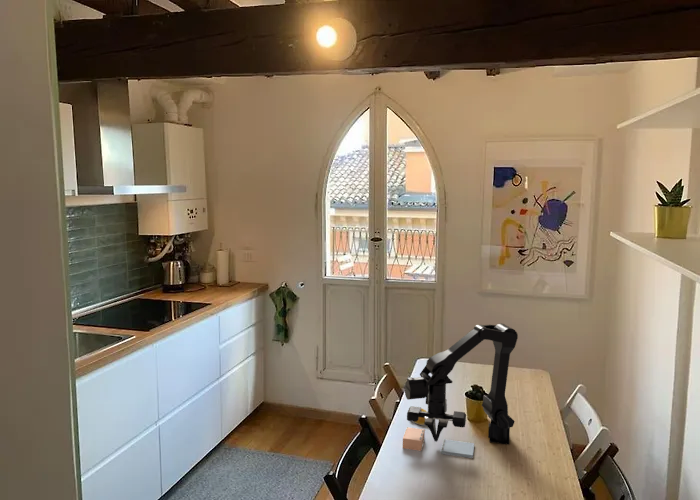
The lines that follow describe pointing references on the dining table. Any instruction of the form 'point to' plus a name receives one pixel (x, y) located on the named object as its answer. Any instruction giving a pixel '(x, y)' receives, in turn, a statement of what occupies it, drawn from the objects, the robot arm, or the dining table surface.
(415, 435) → the stub
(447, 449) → the blue-grey flat panel
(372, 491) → the dining table surface
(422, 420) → the bread roll
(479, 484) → the dining table surface
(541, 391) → the dining table surface
